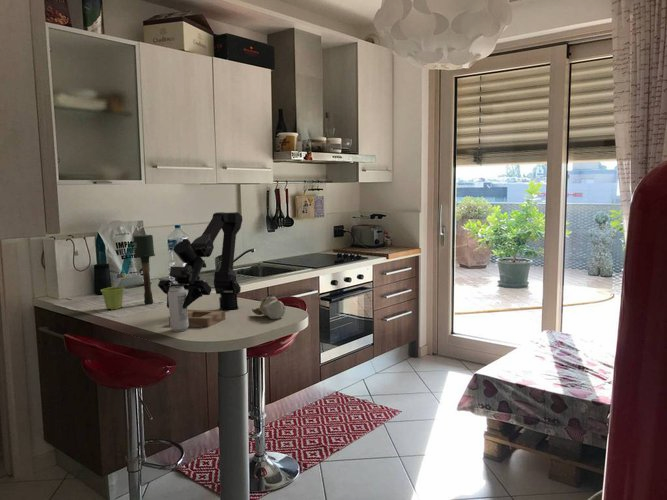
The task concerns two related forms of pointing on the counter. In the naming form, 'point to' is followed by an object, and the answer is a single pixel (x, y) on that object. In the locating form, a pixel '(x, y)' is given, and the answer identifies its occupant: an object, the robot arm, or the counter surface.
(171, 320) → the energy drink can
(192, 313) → the hole board
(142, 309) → the counter surface
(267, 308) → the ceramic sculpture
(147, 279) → the potato masher grenade
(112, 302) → the plant pot
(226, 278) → the robot arm
